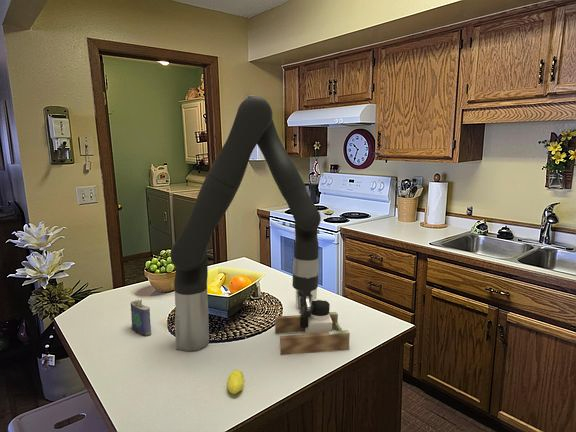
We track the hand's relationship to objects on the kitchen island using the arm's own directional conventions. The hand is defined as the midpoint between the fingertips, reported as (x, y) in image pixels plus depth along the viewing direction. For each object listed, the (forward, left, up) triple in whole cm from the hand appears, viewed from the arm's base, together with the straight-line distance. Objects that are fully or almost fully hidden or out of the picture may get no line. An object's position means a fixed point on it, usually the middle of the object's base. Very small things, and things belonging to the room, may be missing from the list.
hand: (303, 326), depth 117 cm
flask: (-50, +13, -5) cm, 52 cm away
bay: (+2, 0, -5) cm, 5 cm away
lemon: (-21, -20, -5) cm, 29 cm away
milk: (+5, +22, -5) cm, 23 cm away
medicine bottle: (+5, +1, -5) cm, 7 cm away
